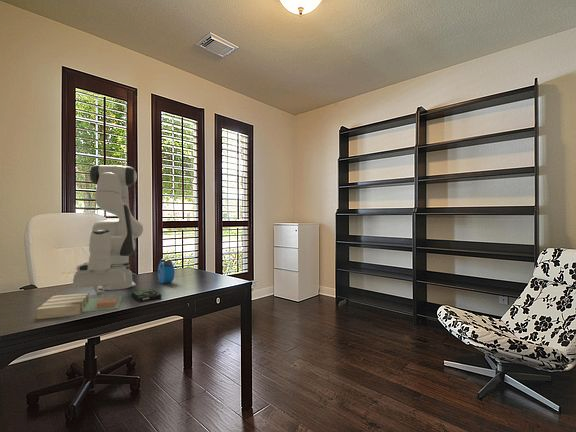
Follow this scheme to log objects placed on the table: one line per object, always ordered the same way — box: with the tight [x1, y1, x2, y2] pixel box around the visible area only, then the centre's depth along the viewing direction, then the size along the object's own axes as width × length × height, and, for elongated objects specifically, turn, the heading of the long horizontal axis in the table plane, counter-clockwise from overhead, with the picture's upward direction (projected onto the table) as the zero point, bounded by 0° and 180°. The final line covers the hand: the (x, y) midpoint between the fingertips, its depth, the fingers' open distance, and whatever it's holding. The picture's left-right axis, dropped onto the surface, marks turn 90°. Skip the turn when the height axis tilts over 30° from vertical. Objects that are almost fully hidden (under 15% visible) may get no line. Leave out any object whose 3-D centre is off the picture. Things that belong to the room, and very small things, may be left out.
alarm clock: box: [157, 257, 175, 284], centre depth 185 cm, size 13×6×15 cm, turn 41°
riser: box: [36, 292, 90, 320], centre depth 130 cm, size 22×14×4 cm, turn 25°
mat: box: [80, 295, 123, 314], centre depth 139 cm, size 22×14×1 cm, turn 25°
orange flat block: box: [97, 296, 117, 308], centre depth 137 cm, size 10×7×2 cm
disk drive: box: [131, 288, 162, 303], centre depth 152 cm, size 10×3×15 cm
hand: (99, 295), depth 136 cm, fingers closed
